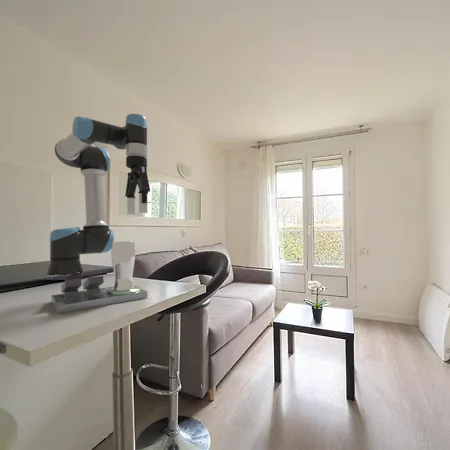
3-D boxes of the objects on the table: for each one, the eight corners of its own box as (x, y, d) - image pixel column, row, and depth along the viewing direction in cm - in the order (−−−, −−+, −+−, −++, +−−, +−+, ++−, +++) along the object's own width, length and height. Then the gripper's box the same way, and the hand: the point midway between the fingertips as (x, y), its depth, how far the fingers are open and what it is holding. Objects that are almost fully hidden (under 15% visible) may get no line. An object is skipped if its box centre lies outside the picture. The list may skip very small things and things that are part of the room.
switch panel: (51, 301, 81) (51, 290, 81) (131, 289, 95) (131, 280, 96) (57, 313, 69) (57, 300, 69) (147, 297, 84) (147, 286, 84)
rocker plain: (83, 289, 85) (83, 283, 86) (97, 287, 88) (96, 281, 88) (89, 284, 78) (88, 277, 79) (103, 282, 81) (103, 276, 81)
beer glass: (120, 286, 89) (120, 241, 89) (139, 287, 87) (138, 241, 88) (107, 291, 82) (106, 242, 82) (127, 291, 80) (126, 241, 81)
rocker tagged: (61, 292, 81) (61, 285, 82) (76, 290, 84) (75, 283, 84) (65, 287, 75) (65, 279, 75) (81, 285, 77) (81, 277, 78)
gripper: (117, 162, 108) (117, 214, 108) (138, 147, 88) (138, 211, 88) (135, 164, 113) (135, 215, 112) (159, 151, 93) (159, 212, 92)
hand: (136, 213), depth 100 cm, fingers open, 13 cm apart
